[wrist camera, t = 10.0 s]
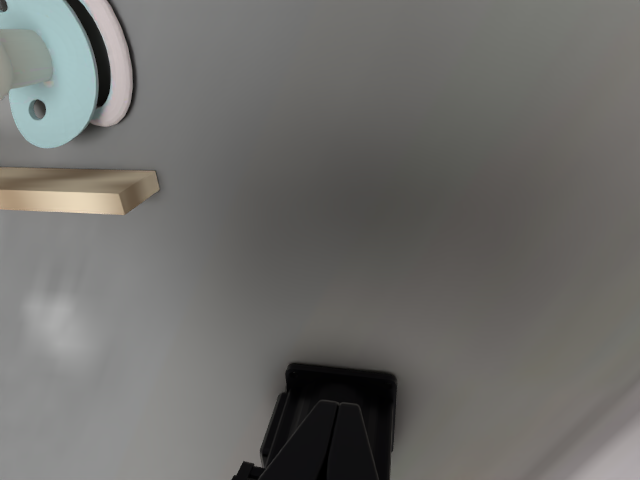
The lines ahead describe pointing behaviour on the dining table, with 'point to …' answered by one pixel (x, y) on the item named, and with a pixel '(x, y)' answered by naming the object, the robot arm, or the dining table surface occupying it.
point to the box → (75, 189)
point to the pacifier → (60, 69)
